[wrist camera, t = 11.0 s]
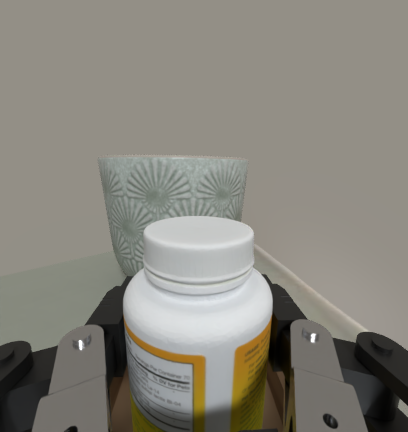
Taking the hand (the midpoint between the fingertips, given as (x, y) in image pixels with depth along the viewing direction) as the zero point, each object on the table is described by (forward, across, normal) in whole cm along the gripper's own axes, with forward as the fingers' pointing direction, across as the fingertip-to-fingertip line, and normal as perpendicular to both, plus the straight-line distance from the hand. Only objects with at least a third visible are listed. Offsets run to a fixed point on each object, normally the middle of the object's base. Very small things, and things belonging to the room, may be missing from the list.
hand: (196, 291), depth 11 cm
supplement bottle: (-3, 0, +6) cm, 7 cm away
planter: (+17, +2, +8) cm, 19 cm away
